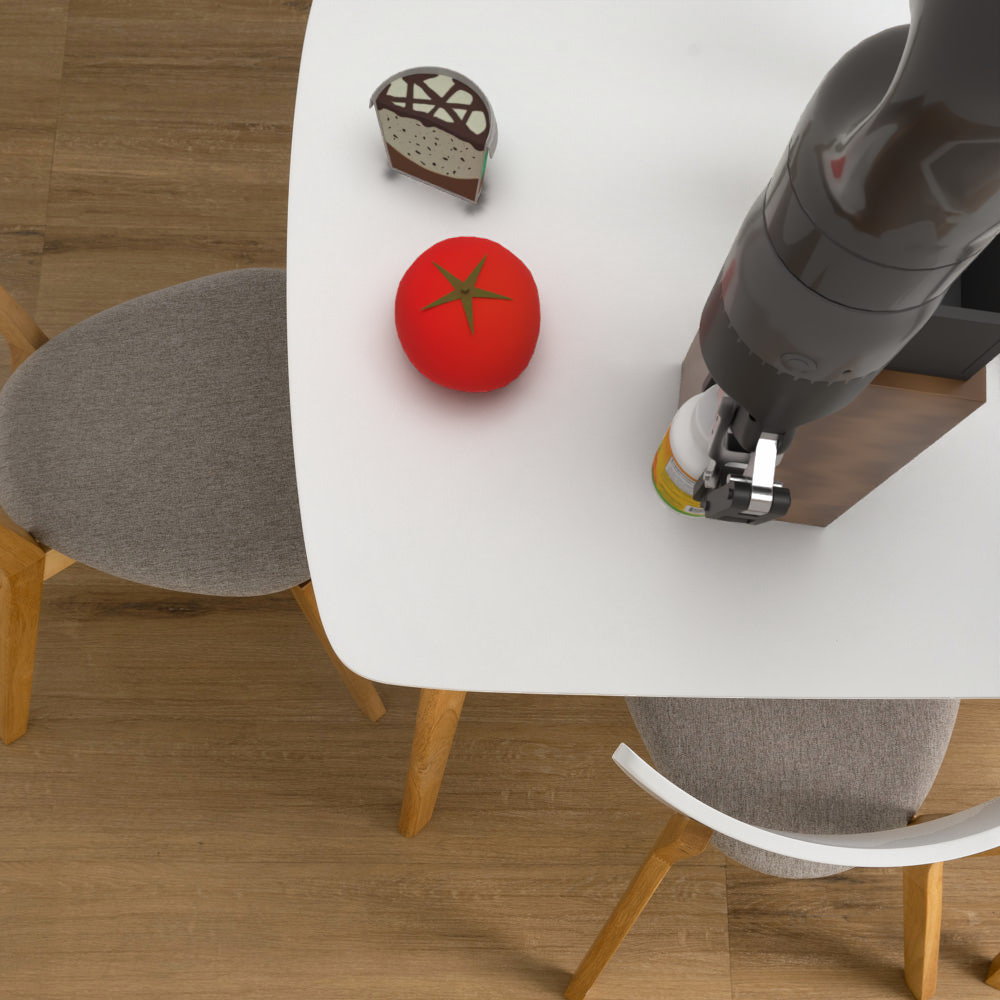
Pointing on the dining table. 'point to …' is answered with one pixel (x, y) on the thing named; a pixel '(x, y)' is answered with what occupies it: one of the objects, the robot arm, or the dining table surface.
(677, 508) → the supplement bottle
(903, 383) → the stand
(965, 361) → the dark grey open box
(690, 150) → the dining table surface
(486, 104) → the food container
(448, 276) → the tomato
